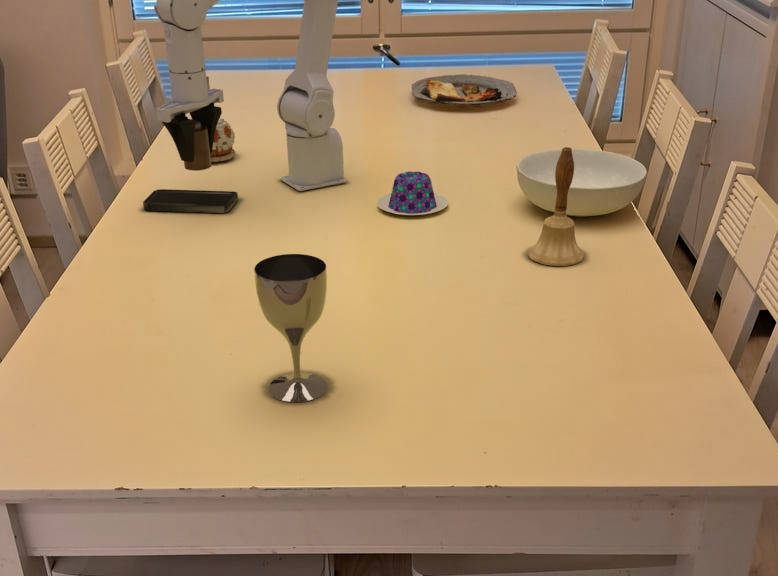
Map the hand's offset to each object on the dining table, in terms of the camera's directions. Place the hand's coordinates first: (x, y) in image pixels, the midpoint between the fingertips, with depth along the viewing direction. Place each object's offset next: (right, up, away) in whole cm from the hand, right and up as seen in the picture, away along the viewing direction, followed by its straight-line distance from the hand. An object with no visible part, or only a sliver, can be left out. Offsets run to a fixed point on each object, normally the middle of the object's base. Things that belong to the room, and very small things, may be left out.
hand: (196, 156), depth 169 cm
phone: (-2, -6, +6) cm, 9 cm away
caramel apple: (-1, +9, +28) cm, 30 cm away
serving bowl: (+63, -8, +1) cm, 64 cm away
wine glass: (+20, -43, -48) cm, 68 cm away
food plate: (+50, +33, +62) cm, 86 cm away
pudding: (+36, -8, +3) cm, 37 cm away
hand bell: (+56, -20, -16) cm, 62 cm away
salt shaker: (0, -1, +1) cm, 2 cm away
